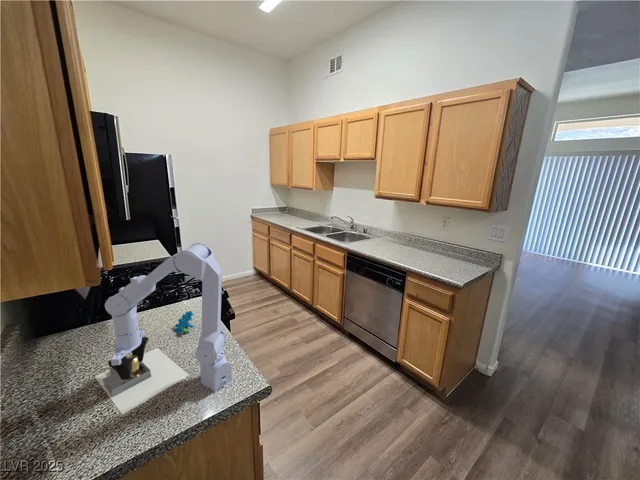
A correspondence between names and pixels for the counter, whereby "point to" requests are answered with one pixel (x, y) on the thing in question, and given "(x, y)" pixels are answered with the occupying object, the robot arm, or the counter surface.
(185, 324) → the gear
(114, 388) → the plate
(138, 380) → the plate
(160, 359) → the mat
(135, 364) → the pin
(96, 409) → the counter surface
